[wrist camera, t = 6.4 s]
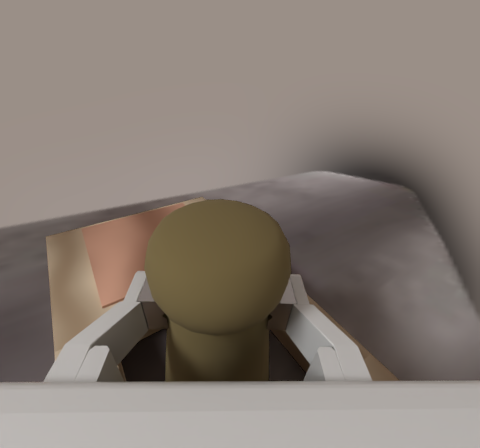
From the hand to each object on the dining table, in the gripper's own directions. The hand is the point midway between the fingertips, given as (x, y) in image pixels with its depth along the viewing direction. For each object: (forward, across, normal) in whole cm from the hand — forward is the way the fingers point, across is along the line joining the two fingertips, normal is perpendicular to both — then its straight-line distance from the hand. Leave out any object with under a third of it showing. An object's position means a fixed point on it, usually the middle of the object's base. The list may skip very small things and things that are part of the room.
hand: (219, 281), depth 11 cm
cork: (-1, 0, +7) cm, 7 cm away
